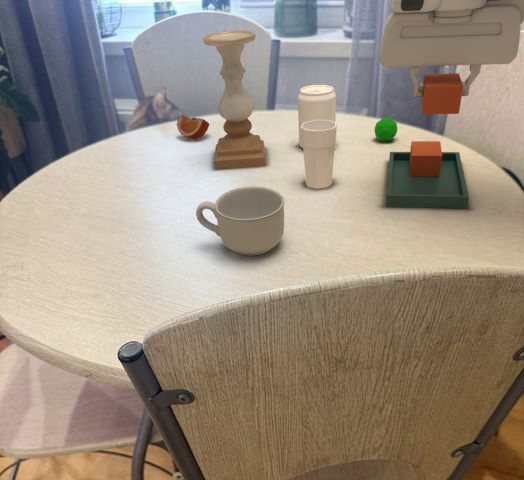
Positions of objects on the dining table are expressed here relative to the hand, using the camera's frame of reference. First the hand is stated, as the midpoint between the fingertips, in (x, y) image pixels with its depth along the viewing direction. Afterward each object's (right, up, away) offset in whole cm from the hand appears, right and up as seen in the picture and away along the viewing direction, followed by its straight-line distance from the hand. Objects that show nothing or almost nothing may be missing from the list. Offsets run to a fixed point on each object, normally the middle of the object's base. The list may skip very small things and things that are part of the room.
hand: (440, 95), depth 85 cm
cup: (-18, -8, +19) cm, 27 cm away
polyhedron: (-1, +7, +35) cm, 36 cm away
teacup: (-32, -24, +1) cm, 40 cm away
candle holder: (-33, +1, +33) cm, 47 cm away
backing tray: (+2, -9, +16) cm, 18 cm away
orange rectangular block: (+3, -5, +20) cm, 21 cm away
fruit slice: (-45, +11, +46) cm, 66 cm away
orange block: (0, -1, +1) cm, 2 cm away
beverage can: (-16, +5, +35) cm, 39 cm away
